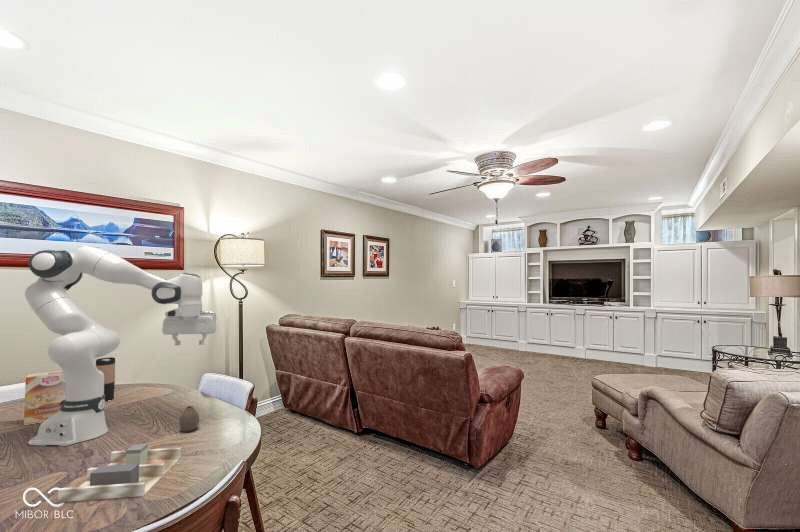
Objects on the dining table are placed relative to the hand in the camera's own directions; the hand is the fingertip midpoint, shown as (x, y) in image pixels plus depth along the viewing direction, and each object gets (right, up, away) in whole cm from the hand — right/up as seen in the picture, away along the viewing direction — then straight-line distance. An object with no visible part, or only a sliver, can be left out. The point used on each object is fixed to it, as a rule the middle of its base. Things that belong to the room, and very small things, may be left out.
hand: (189, 344), depth 156 cm
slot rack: (+9, -29, -48) cm, 57 cm away
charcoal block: (+10, -28, -54) cm, 61 cm away
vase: (+6, -31, -12) cm, 33 cm away
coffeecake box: (-59, -32, 0) cm, 67 cm away
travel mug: (-56, -33, +26) cm, 70 cm away
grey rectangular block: (+8, -28, -43) cm, 52 cm away
